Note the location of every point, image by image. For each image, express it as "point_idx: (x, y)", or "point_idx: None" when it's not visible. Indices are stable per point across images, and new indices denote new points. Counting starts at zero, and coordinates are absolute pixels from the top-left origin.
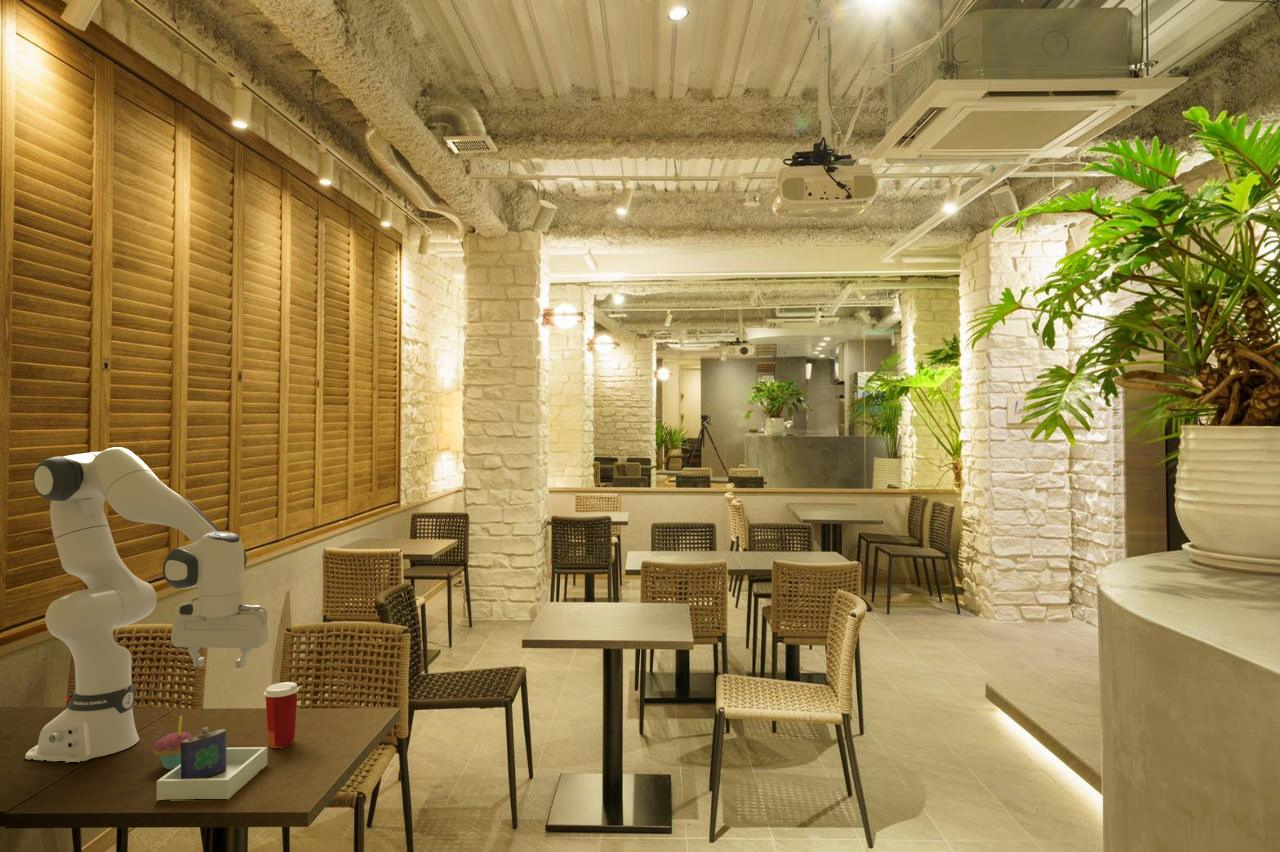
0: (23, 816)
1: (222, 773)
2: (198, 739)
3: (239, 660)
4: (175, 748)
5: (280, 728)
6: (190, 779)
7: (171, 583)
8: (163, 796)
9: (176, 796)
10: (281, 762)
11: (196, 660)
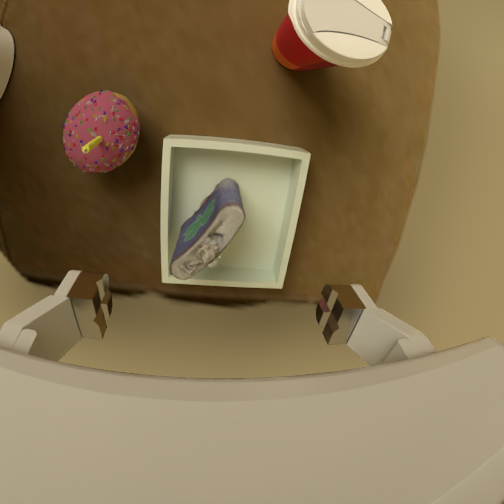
0: (37, 284)
1: None
2: (204, 267)
3: (347, 343)
4: (115, 167)
5: (317, 68)
6: (217, 282)
7: None
8: None
9: None
10: (323, 141)
11: (84, 332)
